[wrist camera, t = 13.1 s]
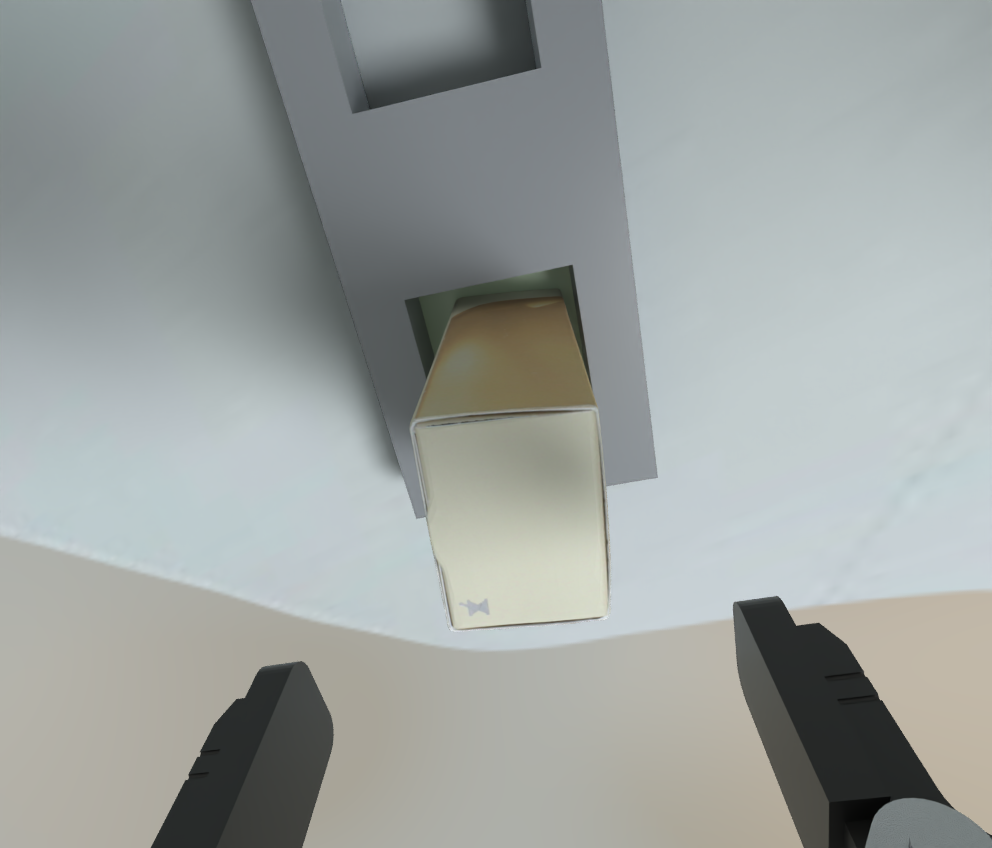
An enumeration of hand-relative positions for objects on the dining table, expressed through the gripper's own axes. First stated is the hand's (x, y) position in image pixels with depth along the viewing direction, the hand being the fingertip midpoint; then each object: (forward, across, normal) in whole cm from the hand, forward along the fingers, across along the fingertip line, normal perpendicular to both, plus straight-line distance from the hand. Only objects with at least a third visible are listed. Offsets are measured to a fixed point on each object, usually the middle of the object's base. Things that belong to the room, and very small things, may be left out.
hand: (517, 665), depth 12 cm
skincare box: (+16, 0, 0) cm, 16 cm away
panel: (+16, 0, -7) cm, 18 cm away
